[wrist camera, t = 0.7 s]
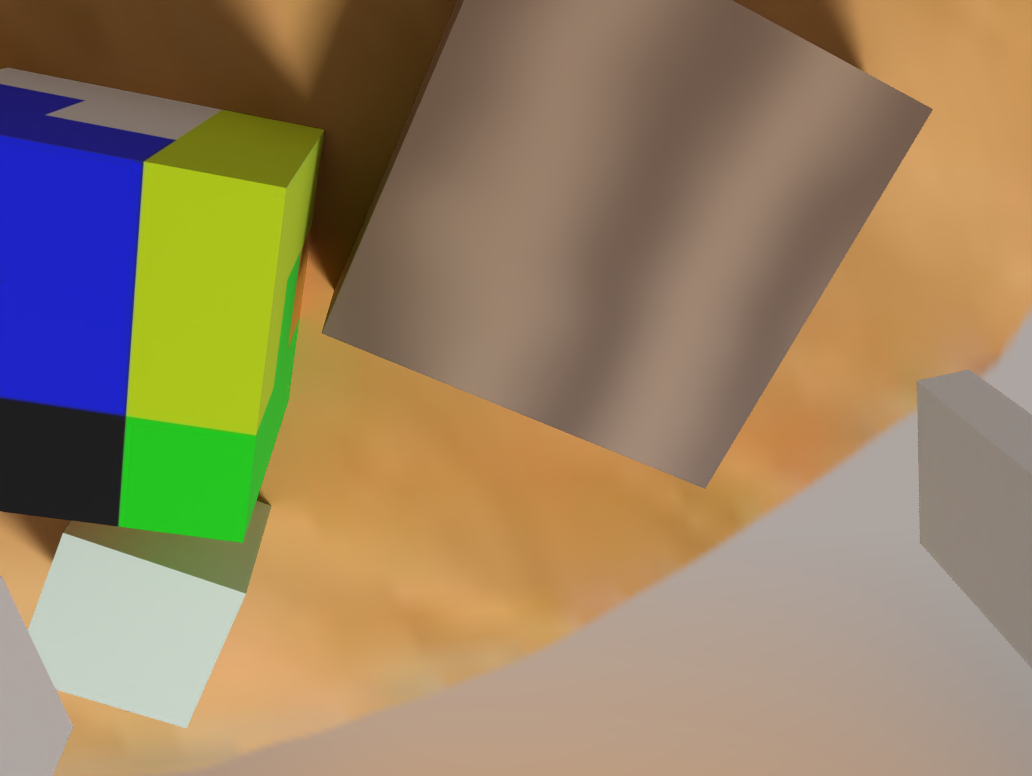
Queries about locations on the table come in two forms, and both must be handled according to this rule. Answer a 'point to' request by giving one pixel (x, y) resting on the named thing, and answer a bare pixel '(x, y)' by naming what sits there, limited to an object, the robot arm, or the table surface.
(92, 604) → the sage block
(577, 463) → the table surface
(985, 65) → the table surface
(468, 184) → the taupe block
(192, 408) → the puzzle toy
